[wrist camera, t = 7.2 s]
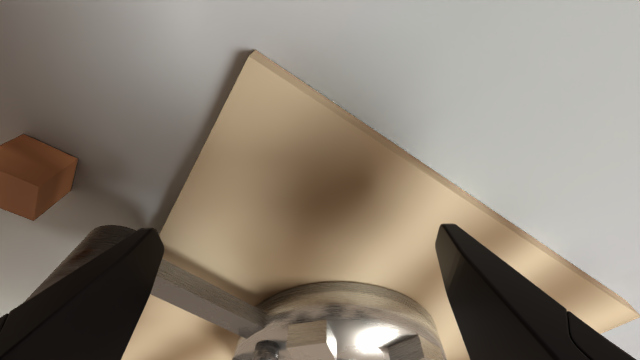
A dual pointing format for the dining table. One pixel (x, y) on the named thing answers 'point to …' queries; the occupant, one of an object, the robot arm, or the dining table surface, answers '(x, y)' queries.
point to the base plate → (306, 217)
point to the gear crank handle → (288, 313)
